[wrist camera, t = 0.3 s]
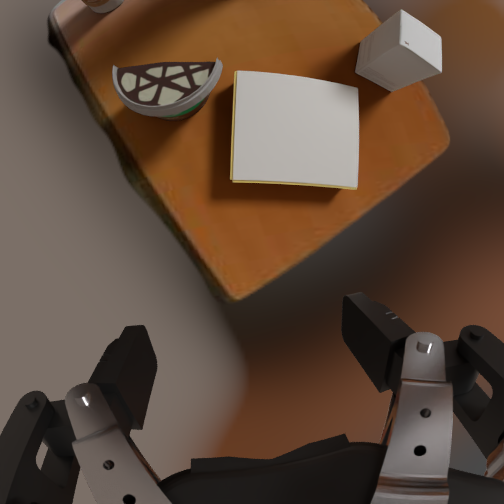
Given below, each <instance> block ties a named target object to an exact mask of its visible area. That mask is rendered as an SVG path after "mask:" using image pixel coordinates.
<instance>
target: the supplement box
mask: <svg viewBox="0 0 504 504" xmlns="http://www.w3.org/2000/svg"><path fill="white" fill-rule="evenodd" d="M441 72H442V49H441V37H440V36H439V35H438V34H436V33H435V32H433V31H432V30H431V29H430V28H428V27H427V26H426V25H424V24H423V23H421V22H420V21H418V20H417V19H415V18H414V17H412V16H411V15H409V14H408V13H406V12H405V11H403V10H400V11H399V12H397V13H396V14H394V15H393V16H392V17H390V18H389V19H388V20H386V21H385V22H384V23H383V24H382V25H380V26H379V27H378V28H377V29H375V30H374V31H373V32H372V33H370V34H369V35H368V36H367V37H365V38H364V39H363V40H362V41H361V42H360V47H359V53H358V59H357V64H356V70H355V73H357V74H359V75H361V76H362V77H364V78H366V79H368V80H370V81H372V82H374V83H376V84H378V85H380V86H381V87H383V88H385V89H387V90H389V91H391V92H393V91H395V90H398V89H400V88H403V87H405V86H408V85H410V84H413V83H415V82H418V81H420V80H423V79H425V78H428V77H431V76H433V75H436V74H439V73H441Z"/></svg>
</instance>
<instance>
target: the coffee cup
mask: <svg viewBox="0 0 504 504" xmlns="http://www.w3.org/2000/svg"><path fill="white" fill-rule="evenodd" d="M82 1H83V2H84V3H85V4H86V5H88V6H89V7H90V8H91V9H92V10H93V11H94V12H96V13H106V12H109V11H111V10H113V9H115V8H116V7H118V6H119V5H120V4H121V3H122V2H123V1H124V0H82Z"/></svg>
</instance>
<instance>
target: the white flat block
mask: <svg viewBox="0 0 504 504" xmlns="http://www.w3.org/2000/svg"><path fill="white" fill-rule="evenodd" d="M358 160H359V103H358V88H356V87H352V86H348V85H343V84H339V83H334V82H329V81H324V80H318V79H312V78H306V77H300V76H293V75H285V74H276V73H266V72H253V71H235V74H234V89H233V110H232V133H231V161H230V180H232V182H244V183H272V184H292V185H307V186H321V187H333V188H344V189H354V190H356V189H357V184H358Z"/></svg>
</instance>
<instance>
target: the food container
mask: <svg viewBox="0 0 504 504" xmlns="http://www.w3.org/2000/svg"><path fill="white" fill-rule="evenodd" d="M222 66H223V65H222V63H221V61H220V60H218V58H217V59H216V62H161V63H154V64H147V65H140V66H132V67H125V68H117V67H116V66H115V65H113V73H112V76H113V84H114V87H115V90H116V92H117V94H118V96H119V98H120V99H121V101H122V102H123V103H124V104H125V105H126V106H127V107H128V108H129V109H131V110H133V111H135V112H137V113H140V114H142V115H147V116H156V117H158V118H160V119H163V120H167V121H179V120H183V119H186V118H188V117H190V116H192V115H194V114H195V113H197V112H198V111H199V110H200V109H201V108H202V107H203V106H204V104H205V103H206V101H207V100H208V98H209V95H210V92H211V90H212V89H213V88H214V87H215V85H216V83H217V81H218V80H219V77H220V74H221V72H222Z"/></svg>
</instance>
